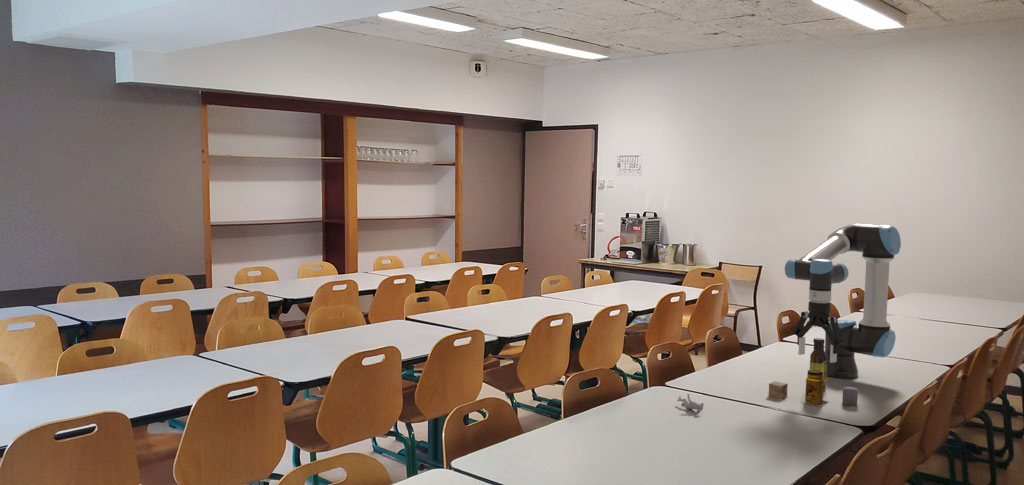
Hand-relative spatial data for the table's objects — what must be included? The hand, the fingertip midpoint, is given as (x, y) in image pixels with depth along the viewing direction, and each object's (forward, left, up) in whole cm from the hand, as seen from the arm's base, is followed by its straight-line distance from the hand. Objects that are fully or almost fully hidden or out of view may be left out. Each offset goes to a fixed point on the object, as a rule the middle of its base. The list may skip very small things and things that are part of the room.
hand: (816, 358), depth 270 cm
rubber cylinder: (-9, +8, -17) cm, 21 cm away
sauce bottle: (-17, -12, -17) cm, 27 cm away
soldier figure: (+47, -16, -17) cm, 53 cm away
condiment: (0, 0, -17) cm, 17 cm away
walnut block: (+6, -12, -17) cm, 21 cm away
